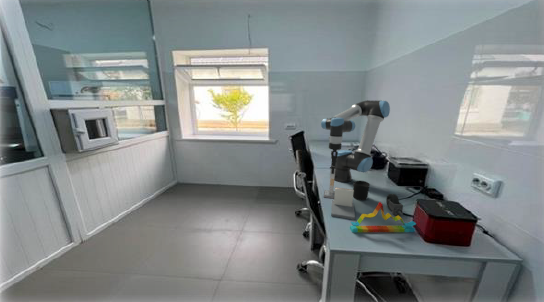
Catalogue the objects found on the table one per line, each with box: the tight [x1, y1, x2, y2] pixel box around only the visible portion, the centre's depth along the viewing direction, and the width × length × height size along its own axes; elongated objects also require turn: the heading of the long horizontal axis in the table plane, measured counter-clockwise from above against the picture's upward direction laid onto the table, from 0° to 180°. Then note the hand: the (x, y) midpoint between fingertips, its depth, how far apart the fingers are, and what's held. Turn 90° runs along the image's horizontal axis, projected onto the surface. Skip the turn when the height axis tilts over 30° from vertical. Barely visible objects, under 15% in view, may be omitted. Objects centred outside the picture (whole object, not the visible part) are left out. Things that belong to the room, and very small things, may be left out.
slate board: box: [330, 199, 356, 221], centre depth 119 cm, size 16×12×2 cm
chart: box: [349, 201, 417, 233], centre depth 100 cm, size 30×3×15 cm, turn 91°
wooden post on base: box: [324, 177, 335, 197], centre depth 136 cm, size 8×8×18 cm
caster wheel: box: [385, 193, 404, 216], centre depth 117 cm, size 6×10×15 cm
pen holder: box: [352, 180, 371, 201], centre depth 134 cm, size 9×9×10 cm
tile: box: [333, 187, 354, 207], centre depth 121 cm, size 2×10×10 cm, turn 73°
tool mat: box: [323, 190, 334, 200], centre depth 138 cm, size 11×9×1 cm
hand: (332, 174), depth 135 cm, fingers open, 13 cm apart
